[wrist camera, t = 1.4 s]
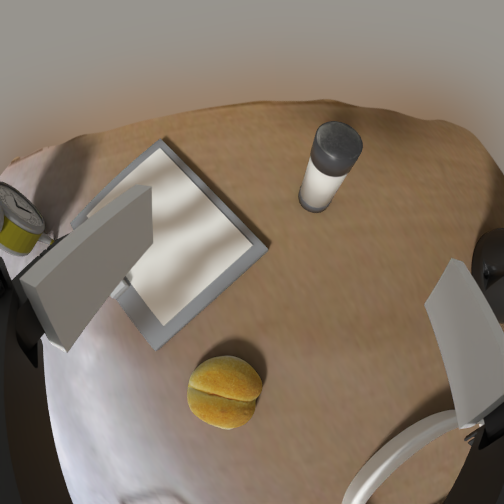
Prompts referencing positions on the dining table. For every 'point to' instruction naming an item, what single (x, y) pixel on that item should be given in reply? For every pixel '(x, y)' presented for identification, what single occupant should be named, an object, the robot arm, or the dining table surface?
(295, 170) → the dining table surface
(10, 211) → the alarm clock
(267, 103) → the dining table surface
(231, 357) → the bread roll
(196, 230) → the clipboard
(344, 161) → the white grey cylinder
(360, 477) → the white hollow ring
